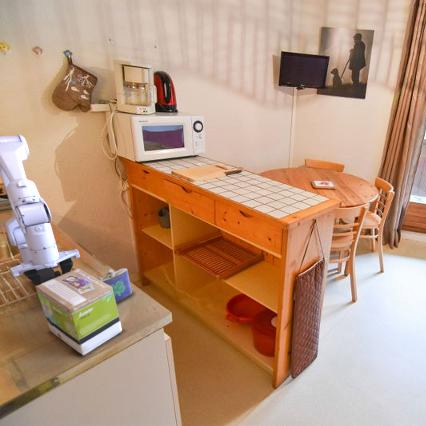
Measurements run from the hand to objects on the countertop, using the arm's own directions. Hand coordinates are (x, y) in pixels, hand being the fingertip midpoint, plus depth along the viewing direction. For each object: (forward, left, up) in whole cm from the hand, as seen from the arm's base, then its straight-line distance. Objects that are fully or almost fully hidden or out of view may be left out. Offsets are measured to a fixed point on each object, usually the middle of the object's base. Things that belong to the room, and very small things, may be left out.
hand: (54, 286), depth 91 cm
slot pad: (0, 0, -1) cm, 1 cm away
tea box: (+20, +1, -5) cm, 20 cm away
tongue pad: (-9, 0, -5) cm, 10 cm away
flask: (+12, +11, -5) cm, 17 cm away
